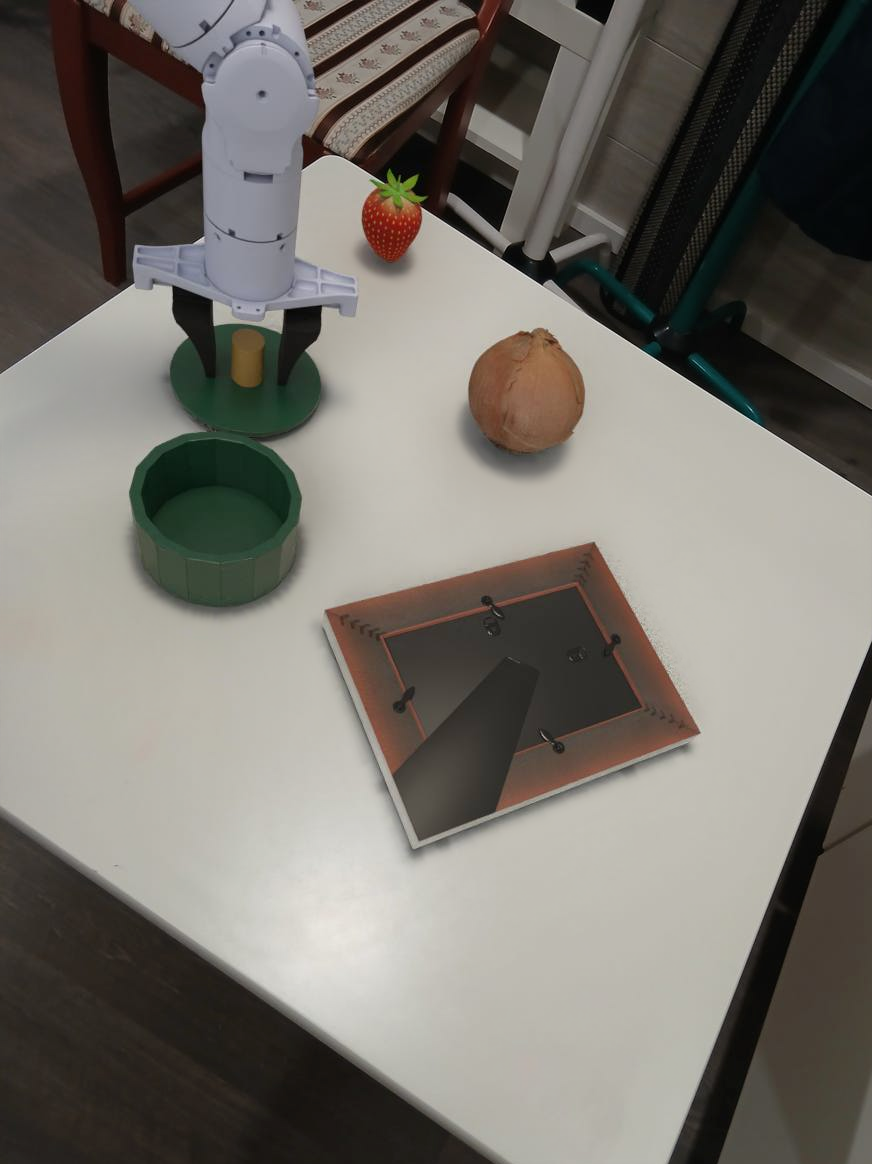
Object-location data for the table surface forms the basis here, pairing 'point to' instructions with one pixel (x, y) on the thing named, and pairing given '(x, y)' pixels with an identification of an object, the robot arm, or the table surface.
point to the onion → (526, 392)
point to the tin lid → (245, 383)
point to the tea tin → (215, 517)
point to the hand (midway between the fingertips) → (246, 371)
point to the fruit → (392, 217)
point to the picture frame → (504, 688)
